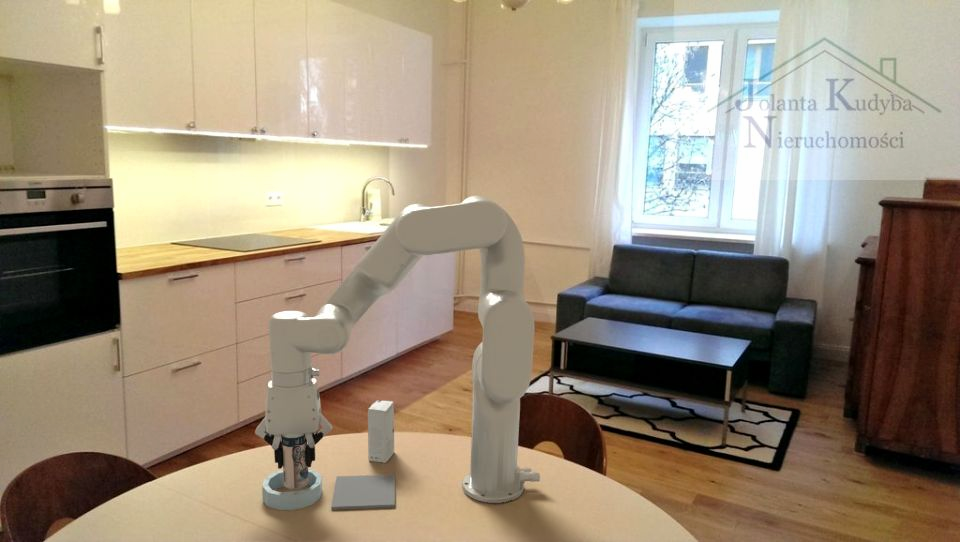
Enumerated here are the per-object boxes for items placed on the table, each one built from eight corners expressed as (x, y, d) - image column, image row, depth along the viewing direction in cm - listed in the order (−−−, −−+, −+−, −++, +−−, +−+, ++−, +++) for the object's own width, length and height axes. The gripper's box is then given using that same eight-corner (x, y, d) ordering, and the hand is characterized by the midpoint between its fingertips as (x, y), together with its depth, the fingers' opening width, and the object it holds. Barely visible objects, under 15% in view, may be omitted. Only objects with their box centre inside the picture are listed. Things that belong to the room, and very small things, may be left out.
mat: (394, 477, 139) (394, 474, 139) (394, 507, 127) (394, 504, 127) (336, 479, 138) (336, 476, 137) (331, 509, 126) (331, 506, 126)
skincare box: (386, 463, 145) (386, 411, 143) (366, 461, 146) (367, 409, 144) (395, 451, 151) (395, 401, 149) (376, 449, 152) (376, 399, 150)
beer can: (301, 492, 128) (299, 433, 125) (279, 489, 129) (276, 431, 126) (313, 480, 132) (310, 423, 130) (290, 477, 133) (288, 421, 131)
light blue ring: (324, 480, 137) (324, 467, 136) (318, 508, 126) (318, 494, 125) (269, 482, 135) (268, 468, 135) (258, 511, 125) (257, 496, 124)
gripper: (338, 368, 131) (341, 454, 134) (249, 371, 129) (254, 458, 132) (335, 381, 124) (338, 471, 127) (241, 384, 122) (246, 476, 125)
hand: (295, 463), depth 130 cm, fingers closed on beer can, 4 cm apart
